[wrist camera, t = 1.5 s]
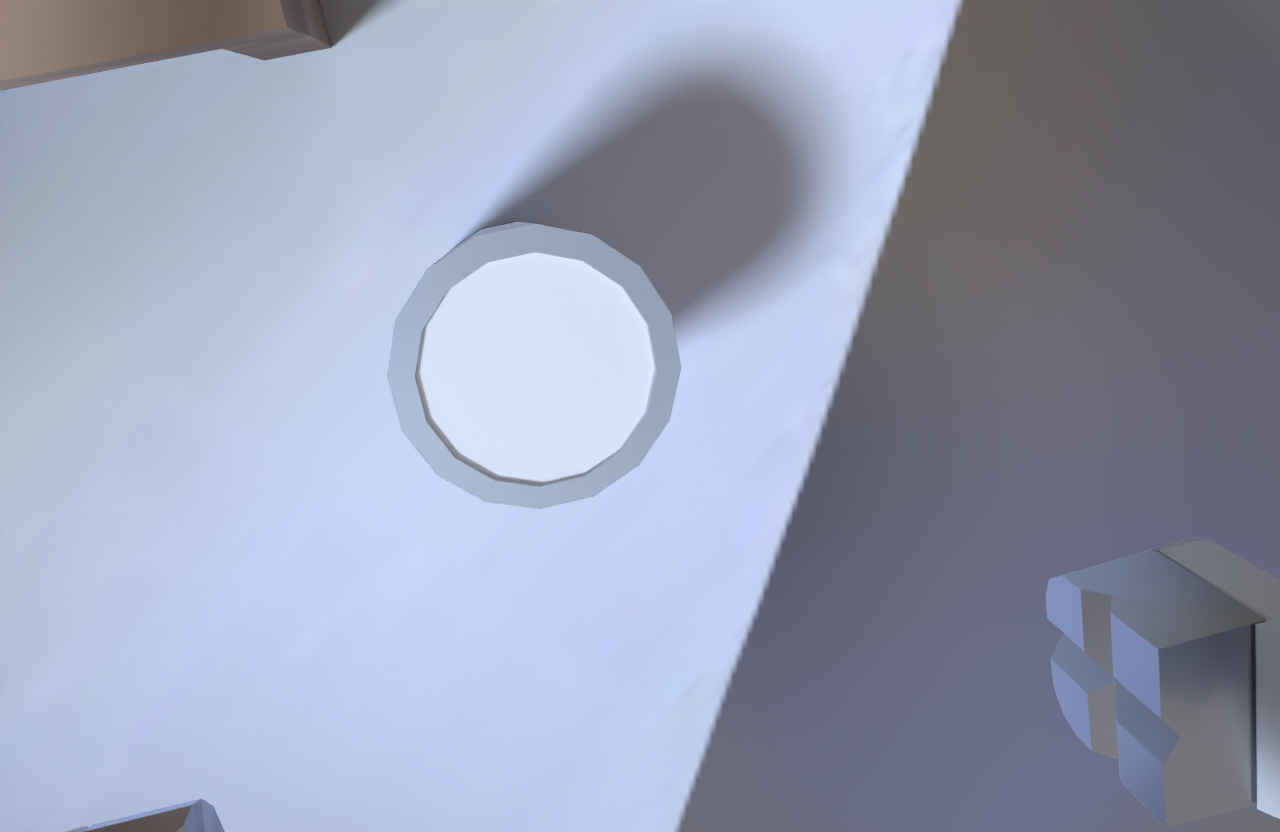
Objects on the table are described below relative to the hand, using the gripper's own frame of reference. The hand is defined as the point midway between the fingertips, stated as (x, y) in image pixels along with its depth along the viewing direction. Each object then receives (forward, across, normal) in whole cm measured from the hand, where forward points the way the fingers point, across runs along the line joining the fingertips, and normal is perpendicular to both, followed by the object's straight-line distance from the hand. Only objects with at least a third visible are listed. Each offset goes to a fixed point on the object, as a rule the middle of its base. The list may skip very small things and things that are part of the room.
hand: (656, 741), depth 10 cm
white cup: (+22, 0, 0) cm, 22 cm away
